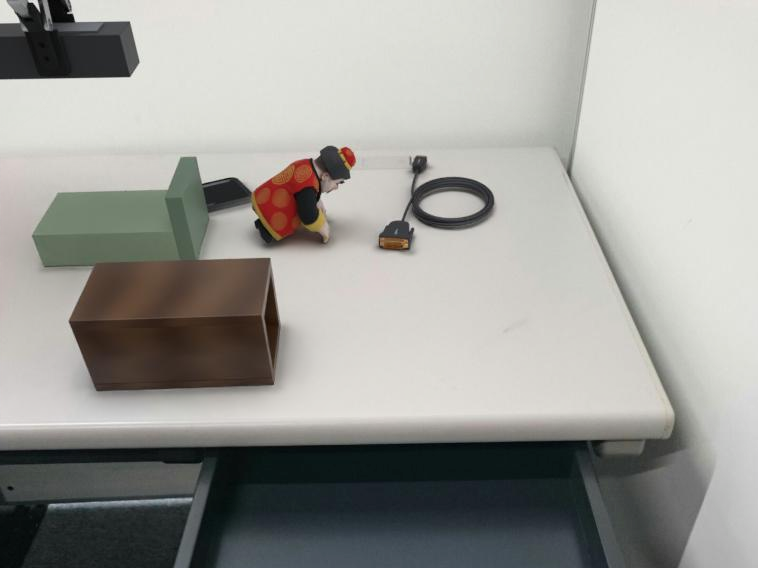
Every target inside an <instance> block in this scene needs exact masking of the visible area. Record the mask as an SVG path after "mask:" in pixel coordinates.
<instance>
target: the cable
mask: <svg viewBox="0 0 758 568" xmlns="http://www.w3.org/2000/svg"><path fill="white" fill-rule="evenodd" d="M427 163H428V156H427V155H424V154H423V155H422V154H417V155H415V156H414V158H413V161H412V163H411V168H412V171H413V172H414V176H413V178H412V183H411V188H410V190H411V191H410V193H411V197H410V199H409V201H408V203H407V205H406V208H405V210H404V212H403V215H402V218H401V220H400V219H399V220H397V219H396V220H392V221H390V222H389V223H388V225H387V224H386V225H385V227H384V229H383V231H381V232H380V233H379V235H378V247H379V248H384V249H396V250H410V249H411V242H412V238H413V236H414V233H415V227H410V223H409V222H408V221H406V217H407V215H408V212H409V209H410V208H411V211H412V214H414V216H415V217H416V218H418V220H420V221H422V222H424V223H426V224H429V225H433V226H438V227H445V228H448V227H450V228H451V227H462V226H466V225H470V224H473V223H476V222H478V221H480V220H482V219H484V218H485V217H487V216H488V214H490V213H491V211H492V210H493V209H494V206H495V201H496V200H495V196H494V193H493V191H492V190H491V189H490V188H489V186H487V185H486V184H484V183H482V182H481V181H478V180H476V179H473V178H468V177H463V176H444V177H438V178H434V179H429V180H428V181H426V182H423V183H422V184H420V185H419V186H417V187H416V188H415V184H416V180H417V177H418V173H421V172H422V171H423V170H424V169H425V167H426V165H427ZM445 188H460V189H461V188H462V189H467V190H470V191H473V192H475V193H477V194H479V195H480V196H481V197H482V198H483V200H484V203H485V204H484V206H483V207H482V208H481V209H480V210H478V211H477V212H475V213H472V214H470V215H466V216H460V217H442V216H438V215H433V214H430V213H428V212H426V211H424V210H423V208H422V207H420V205H419V202H420V200H421V198H422V197H423V196H425V195H426V194H428V193H430V192H432V191H435V190H439V189H445Z"/></svg>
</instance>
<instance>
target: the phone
mask: <svg viewBox="0 0 758 568" xmlns="http://www.w3.org/2000/svg"><path fill="white" fill-rule="evenodd" d="M202 186H203V191H204V196H205V200H206V205H207V210H208V214H211V213H214V212H219V211H223V210H226V209H230V208H231V209H232V208H235V207H239V206H243V205H247V204H252V202H251V193H252V192H253V191H251V190H250V189H249V188H248V186H246V185H245V184H244V183H243V182H242V181H241V180H240V179H239V178H238V177H234V176H230V177H225V178H221V179H215V180H211V181H207V182H202Z"/></svg>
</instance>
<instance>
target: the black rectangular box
mask: <svg viewBox="0 0 758 568" xmlns="http://www.w3.org/2000/svg"><path fill="white" fill-rule="evenodd" d="M52 24H53V29H58V32H59V35H60V38H61V42H62V45H63V48H64V51H65V55H66V58H67V61H68V64H69V68H70V74H69V76H60V77H42V76H40V75H39V74H38V72H37V69H36V66H35V63H34V60H33V57H32V54H31V51H30V48H29V45H28V42H27V39H26V36H25V33H24V32H23V30H22V28H21V25H20V22H5V23H4V22H2V23H1V22H0V80H4V81H7V80H54V79H55V80H56V79H63V80H64V79H106V78H108V79H109V78H110V79H111V78H112V79H113V78H114V79H115V78H117V79H118V78H120V79H121V78H131V77H132V76H133V74H134V72H135V71H136V69H137V68H138V66H139V65H140V64H141V63H140V62H141V61H140V57H139V53H138V49H137V45H136V40H135V37H134V32H133V27H132V24H131V21H130V20H123V21H122V20H121V21H119V20H118V21H117V20H116V21H75V22H54V23H52Z"/></svg>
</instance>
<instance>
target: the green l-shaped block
mask: <svg viewBox="0 0 758 568" xmlns="http://www.w3.org/2000/svg"><path fill="white" fill-rule="evenodd" d="M176 165H177V166H176V168H175V170H174V174H173V175H172V178H171V180H170V183H169V185H168V188H167V189H140V190H106V191H105V190H103V191H98V190H97V191H67V192H66V191H65V192H57V193H56V195H55V197H54V198H53V199H52V202H51V203H50V205H49V206H48V208H47V210H46V211H45V213H44V215H43V216H42V217H41V219H40V221H39V223H38V224H37V226H36V228H35V229H34V230H33V232H32V233H31V238H32V241H33V243H34V245H35V248H36V250H37V253H38V256H39V258H40V261H41V262H42V265H43V267H66V266H68V267H69V266H95V264H96V263H106V262H140V261H174V260H199V255H200V252H201V249H202V245H203V242H204V238H205V234H206V232H207V227H208V224H209V221H210V215H209V213H208V210H207V205H206V200H205V196H204V191H203V186H202V184H203V181H202V177H201V171H200V168H199V163H198V158H197V156H180V157H179V160H178V163H177V164H176Z"/></svg>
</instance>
